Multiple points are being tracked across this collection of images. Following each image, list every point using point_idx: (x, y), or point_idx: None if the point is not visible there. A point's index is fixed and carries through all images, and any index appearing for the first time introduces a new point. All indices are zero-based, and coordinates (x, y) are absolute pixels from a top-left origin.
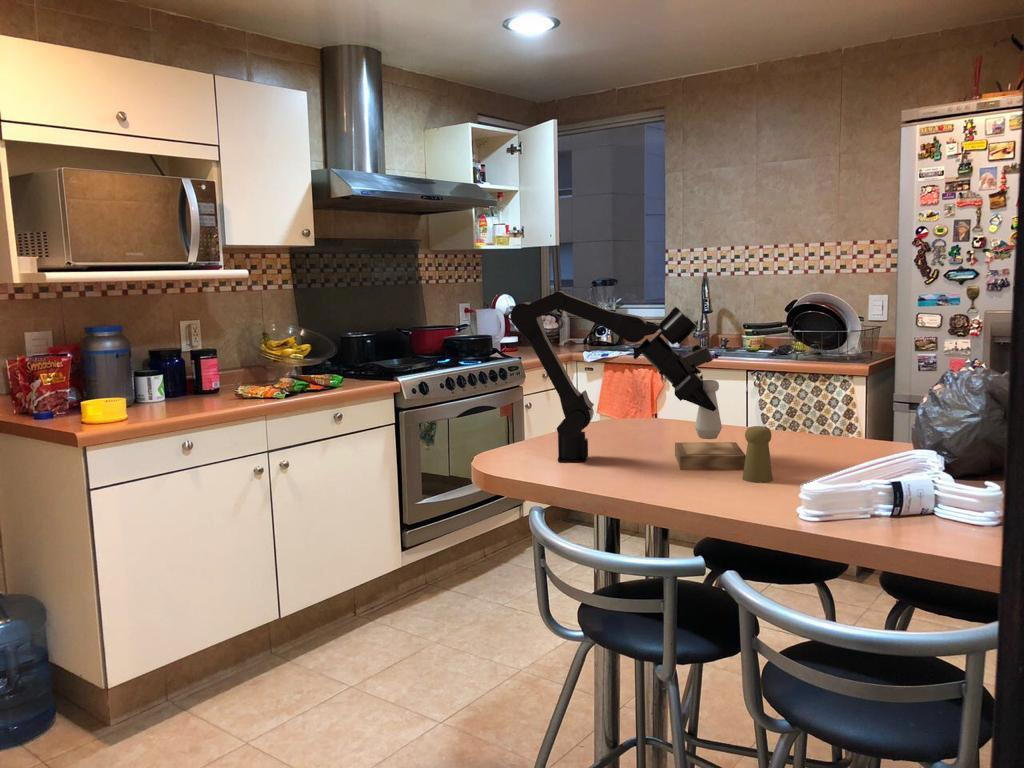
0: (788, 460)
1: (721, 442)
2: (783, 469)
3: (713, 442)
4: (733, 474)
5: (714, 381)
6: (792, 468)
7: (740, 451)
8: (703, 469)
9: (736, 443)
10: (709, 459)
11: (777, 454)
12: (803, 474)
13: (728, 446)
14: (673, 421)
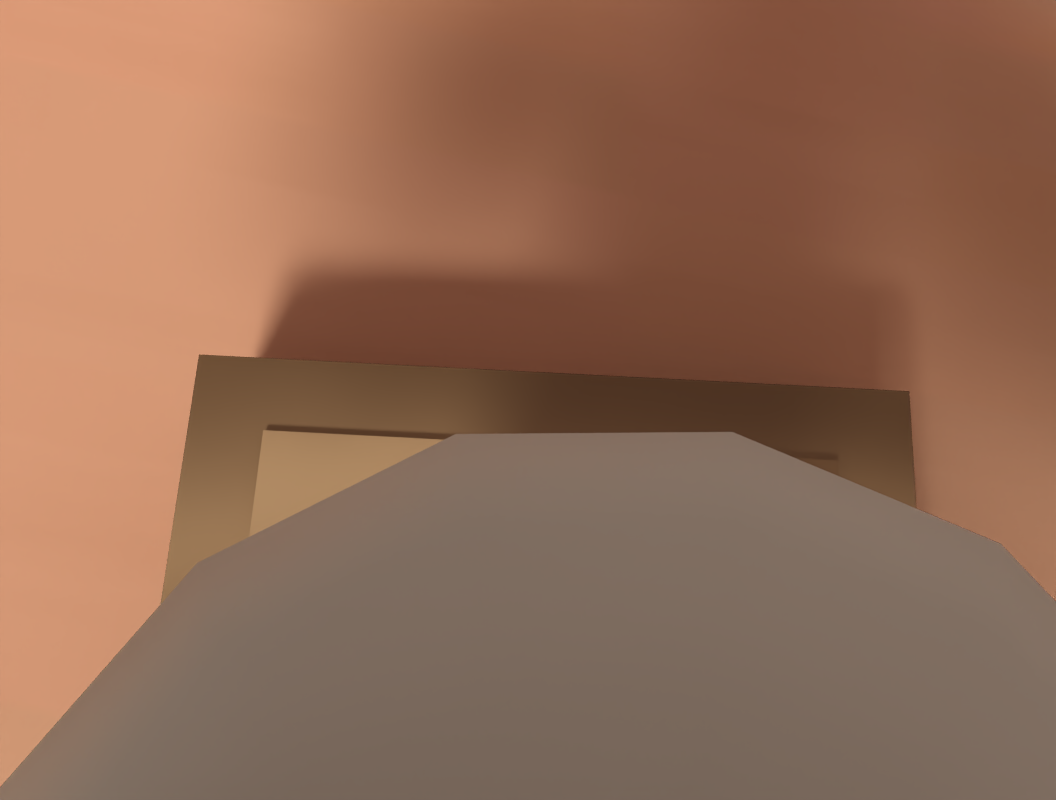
0: (511, 10)
1: (182, 521)
2: (836, 123)
3: None
4: (1052, 586)
5: (1047, 764)
6: (799, 49)
7: (685, 404)
8: None
9: (265, 361)
10: None
11: (274, 38)
12: (999, 23)
13: None
14: None
